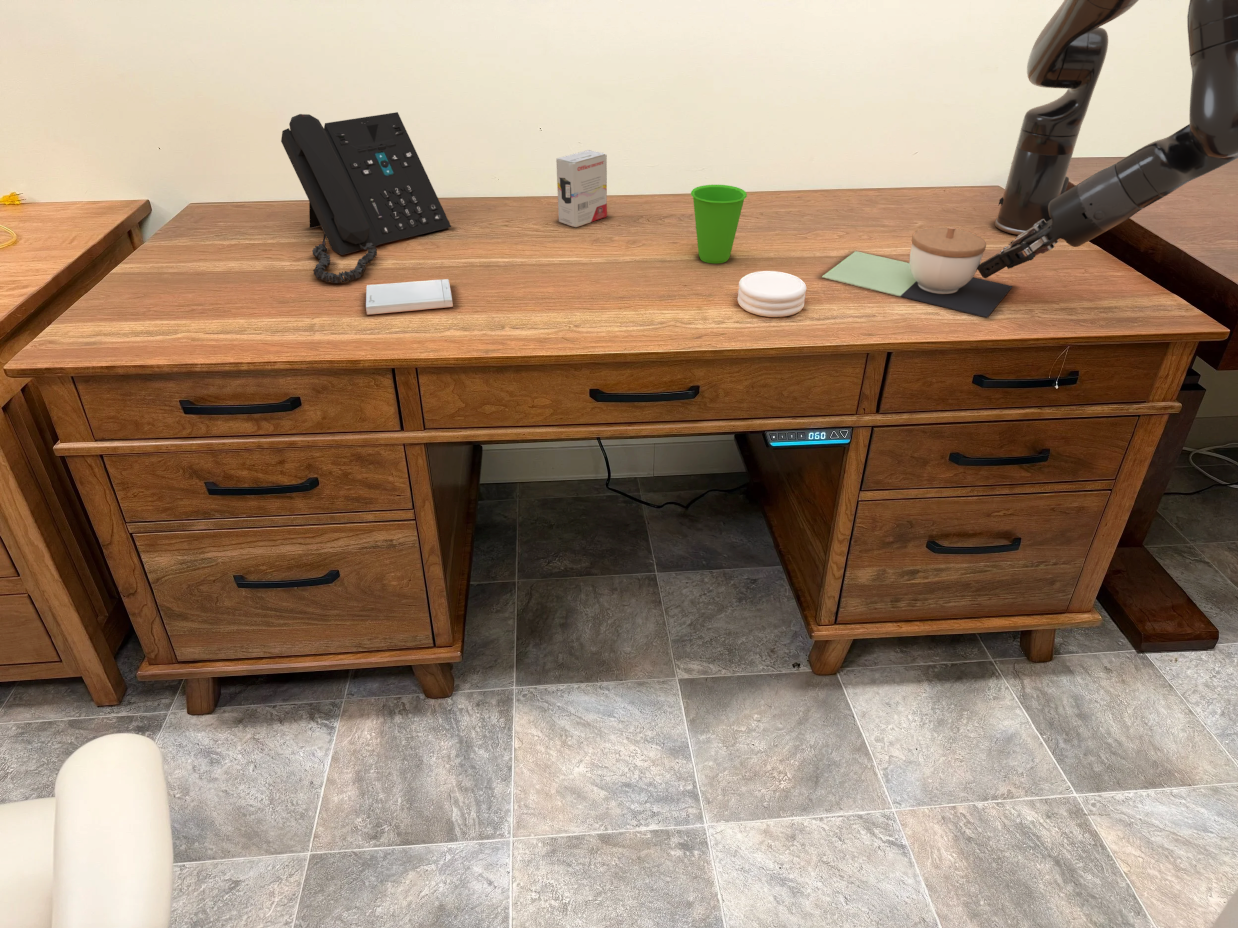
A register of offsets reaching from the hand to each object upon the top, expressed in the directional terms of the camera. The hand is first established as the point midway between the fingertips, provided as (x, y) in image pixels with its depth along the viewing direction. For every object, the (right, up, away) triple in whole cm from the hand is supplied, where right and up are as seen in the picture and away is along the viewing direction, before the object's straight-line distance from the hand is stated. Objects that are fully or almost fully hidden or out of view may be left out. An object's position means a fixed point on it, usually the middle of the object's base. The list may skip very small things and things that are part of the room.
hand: (981, 272), depth 126 cm
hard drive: (-86, -5, 0) cm, 87 cm away
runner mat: (-8, 0, +7) cm, 10 cm away
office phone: (-98, +9, +20) cm, 101 cm away
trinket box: (-5, -1, +5) cm, 7 cm away
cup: (-39, +6, +15) cm, 42 cm away
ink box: (-62, +17, +31) cm, 71 cm away
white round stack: (-32, -5, -1) cm, 33 cm away
